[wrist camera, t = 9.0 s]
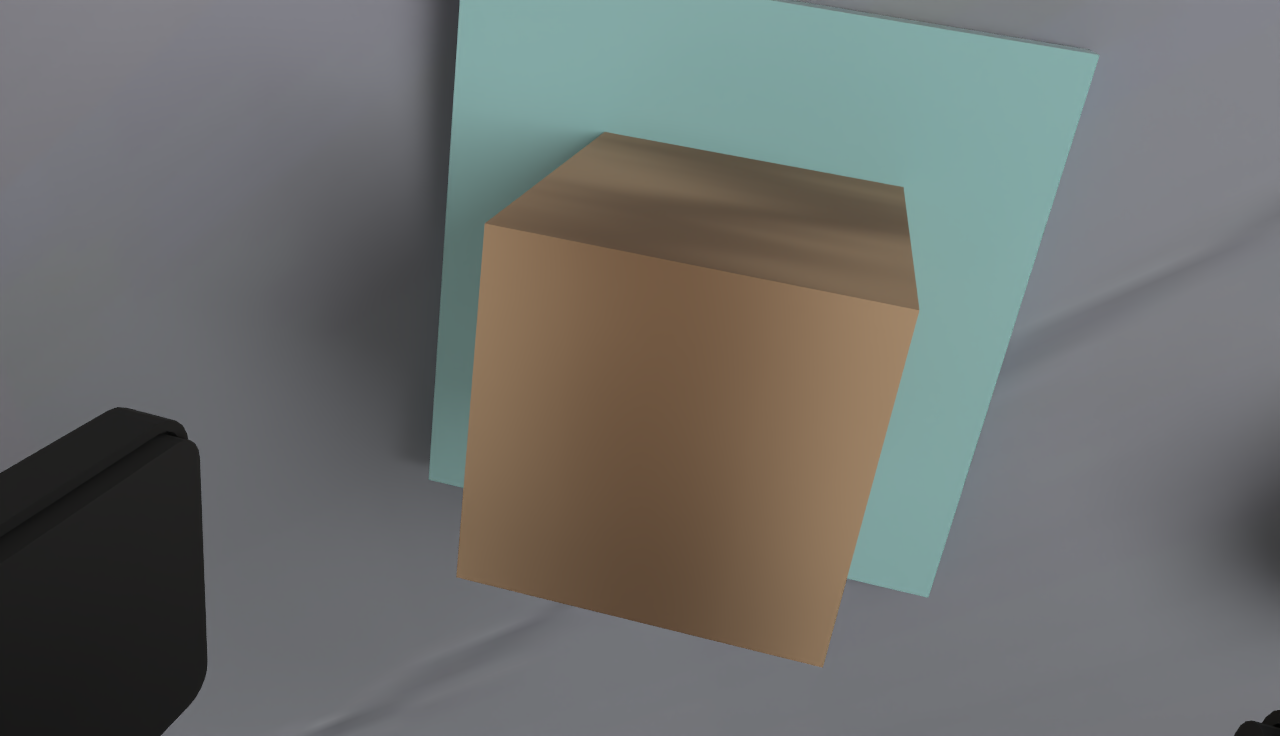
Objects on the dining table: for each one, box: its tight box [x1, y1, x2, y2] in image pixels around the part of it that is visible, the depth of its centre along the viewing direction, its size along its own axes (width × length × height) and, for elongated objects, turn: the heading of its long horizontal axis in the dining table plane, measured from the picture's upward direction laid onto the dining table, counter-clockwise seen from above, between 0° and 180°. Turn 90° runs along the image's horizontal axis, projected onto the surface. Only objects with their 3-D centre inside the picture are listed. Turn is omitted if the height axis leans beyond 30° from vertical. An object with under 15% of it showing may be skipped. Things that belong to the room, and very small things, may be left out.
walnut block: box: [456, 132, 919, 667], centre depth 15 cm, size 5×5×6 cm
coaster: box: [429, 0, 1099, 597], centre depth 18 cm, size 10×10×1 cm
